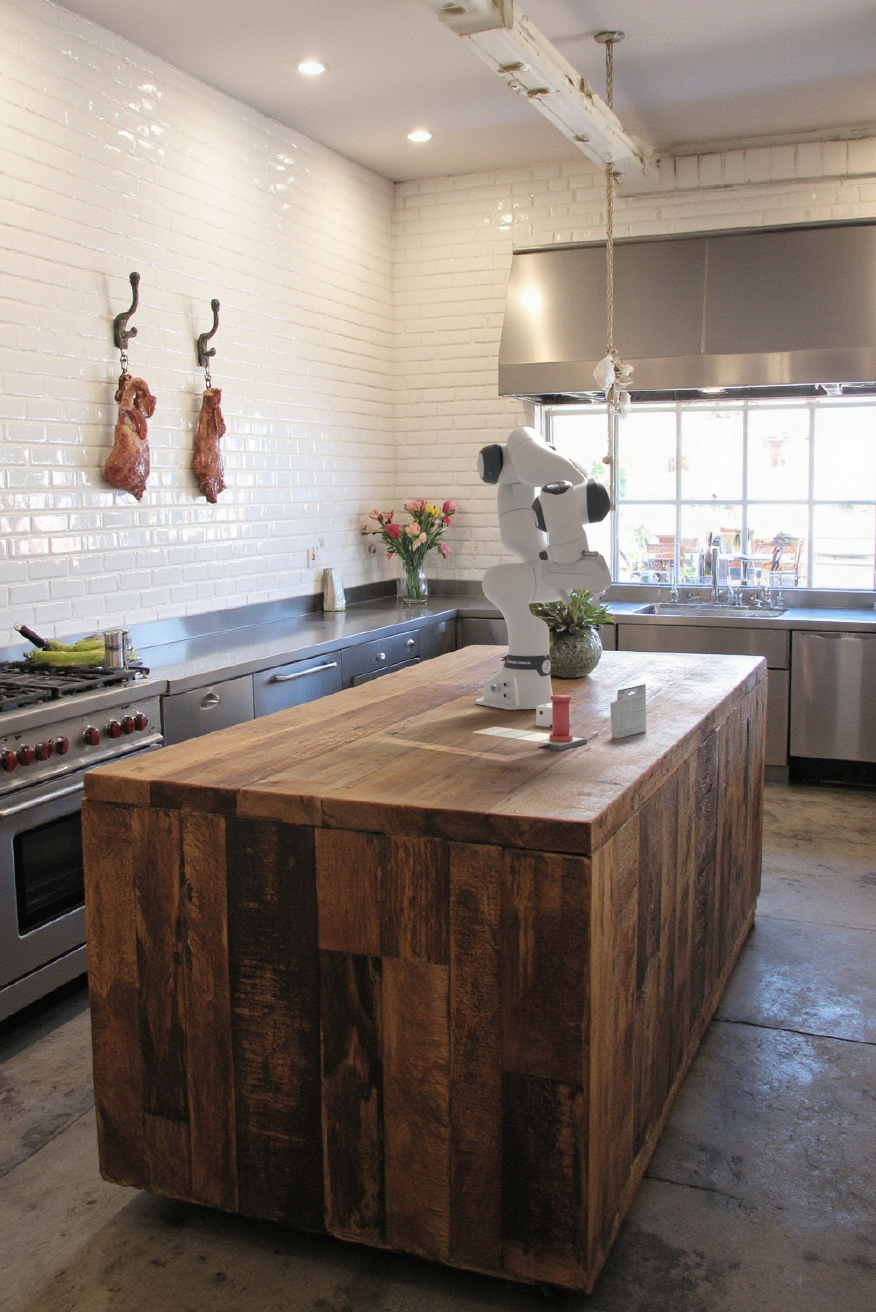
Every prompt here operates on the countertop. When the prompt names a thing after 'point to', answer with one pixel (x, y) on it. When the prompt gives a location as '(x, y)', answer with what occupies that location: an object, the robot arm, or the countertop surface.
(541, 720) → the die
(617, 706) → the ink box
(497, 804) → the countertop surface
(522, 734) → the game board
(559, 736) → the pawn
